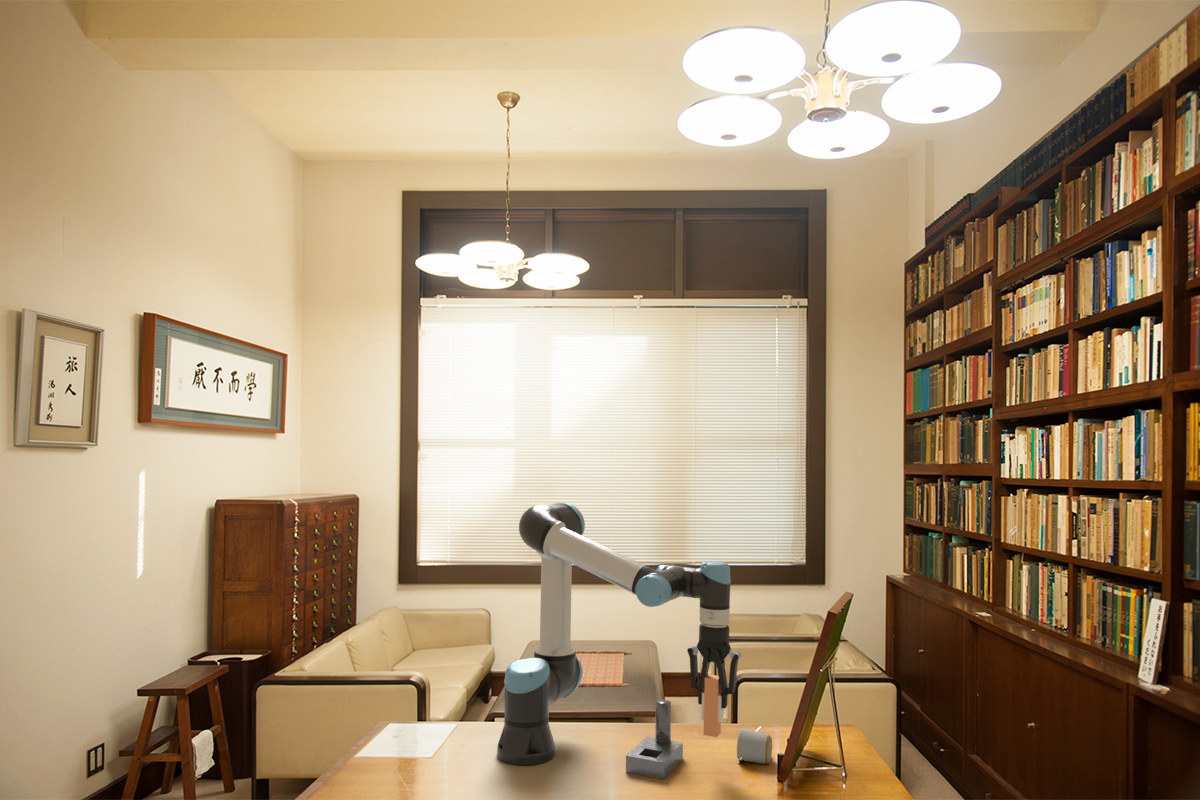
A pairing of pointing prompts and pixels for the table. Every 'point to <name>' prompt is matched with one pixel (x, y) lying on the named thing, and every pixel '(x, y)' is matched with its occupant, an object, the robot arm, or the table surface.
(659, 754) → the grey socket base
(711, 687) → the salmon orange square bar
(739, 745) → the grey rounded box
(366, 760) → the table surface
